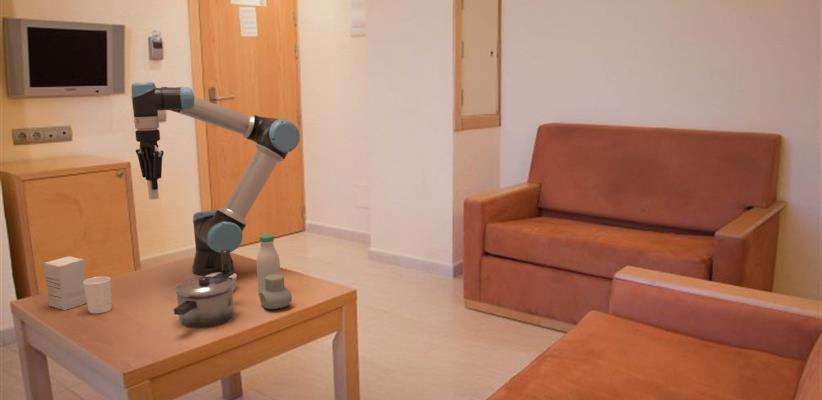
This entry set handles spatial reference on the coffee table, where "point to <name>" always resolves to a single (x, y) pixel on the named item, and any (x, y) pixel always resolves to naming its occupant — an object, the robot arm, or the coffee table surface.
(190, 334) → the coffee table surface
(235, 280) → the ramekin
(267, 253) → the milk bottle
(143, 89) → the robot arm
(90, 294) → the white cup
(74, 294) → the supplement box
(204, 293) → the lid
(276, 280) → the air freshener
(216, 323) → the pot
